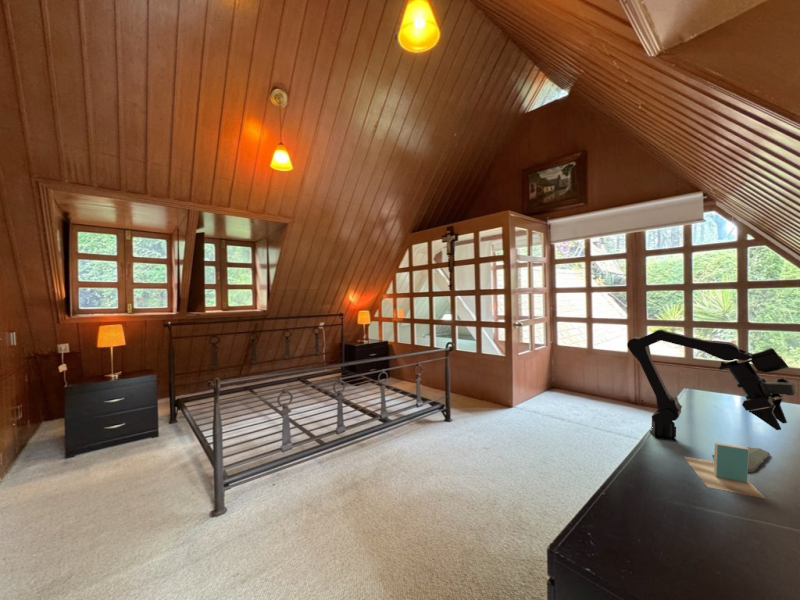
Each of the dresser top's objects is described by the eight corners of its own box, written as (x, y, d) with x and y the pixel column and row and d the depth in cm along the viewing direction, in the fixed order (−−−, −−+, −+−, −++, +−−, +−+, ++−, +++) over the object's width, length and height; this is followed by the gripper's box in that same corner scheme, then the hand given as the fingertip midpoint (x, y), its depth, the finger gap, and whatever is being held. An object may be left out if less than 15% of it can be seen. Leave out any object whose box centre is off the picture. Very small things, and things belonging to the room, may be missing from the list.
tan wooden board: (683, 457, 108) (683, 456, 108) (731, 466, 103) (731, 464, 103) (707, 488, 92) (707, 486, 92) (766, 500, 86) (766, 498, 86)
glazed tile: (713, 474, 98) (714, 442, 97) (744, 479, 95) (746, 447, 94) (716, 477, 96) (717, 444, 96) (747, 483, 93) (749, 449, 93)
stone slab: (710, 462, 106) (753, 473, 98) (709, 453, 106) (752, 464, 98) (733, 448, 117) (774, 456, 109) (732, 440, 117) (773, 448, 109)
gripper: (773, 374, 95) (814, 428, 89) (785, 366, 105) (823, 414, 99) (727, 385, 104) (762, 435, 97) (742, 376, 114) (775, 421, 107)
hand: (782, 426), depth 100 cm, fingers open, 9 cm apart
